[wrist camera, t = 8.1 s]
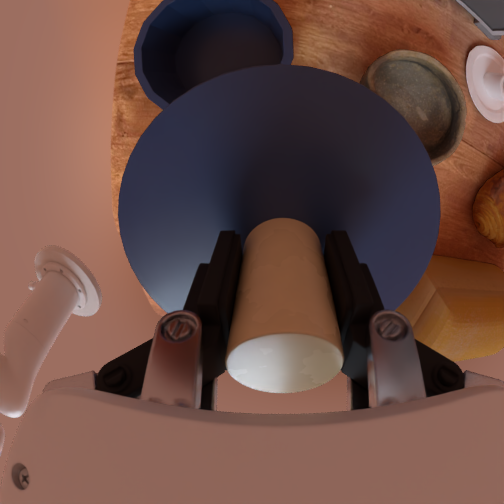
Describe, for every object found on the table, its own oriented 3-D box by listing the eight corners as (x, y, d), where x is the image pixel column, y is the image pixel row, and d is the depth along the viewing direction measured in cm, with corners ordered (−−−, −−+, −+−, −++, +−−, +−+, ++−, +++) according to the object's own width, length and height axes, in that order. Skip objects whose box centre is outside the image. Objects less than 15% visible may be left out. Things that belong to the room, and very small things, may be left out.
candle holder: (457, 37, 18) (475, 35, 14) (509, 56, 16) (526, 58, 12) (465, 117, 24) (484, 123, 21) (513, 126, 22) (530, 133, 19)
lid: (168, 332, 17) (139, 422, 11) (104, 94, 9) (-23, 132, 3) (388, 333, 16) (412, 423, 10) (447, 92, 8) (569, 131, 2)
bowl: (438, 160, 29) (480, 188, 21) (318, 151, 31) (334, 178, 22) (443, 65, 21) (490, 68, 13) (313, 43, 23) (330, 24, 15)
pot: (174, 116, 29) (140, 130, 21) (168, 18, 22) (132, 0, 14) (288, 110, 28) (294, 119, 20) (285, 6, 20) (289, -23, 13)
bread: (387, 308, 44) (409, 378, 32) (415, 250, 37) (456, 320, 25) (471, 310, 44) (497, 362, 32) (499, 263, 37) (536, 315, 24)
